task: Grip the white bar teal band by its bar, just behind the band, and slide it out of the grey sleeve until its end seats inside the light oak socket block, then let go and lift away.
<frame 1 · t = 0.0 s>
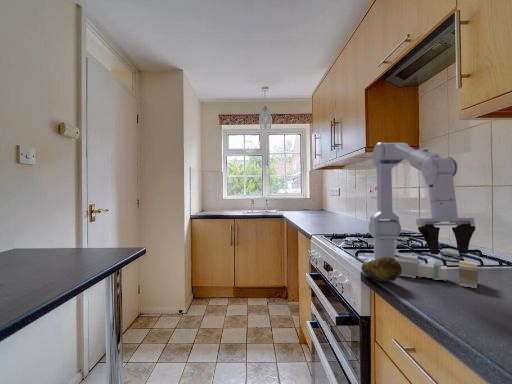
hand: (449, 254, 71), 11 cm above the counter, tool pointing down, fingers open, 7 cm apart
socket: (467, 284, 78), on the counter
sleeve: (408, 274, 87), on the counter
white bar teal band: (423, 268, 85), point 3 cm above the counter, slide at 0.0 cm
potato: (380, 282, 81), on the counter
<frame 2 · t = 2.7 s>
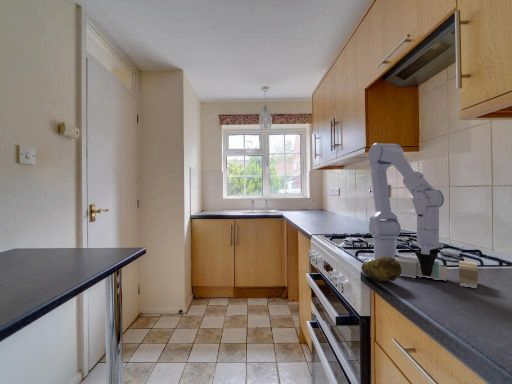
hand: (427, 273, 84), 1 cm above the counter, tool pointing down, fingers closed on white bar teal band, 5 cm apart
white bar teal band: (423, 268, 85), point 3 cm above the counter, slide at 0.0 cm, touching gripper
everything else where it was.
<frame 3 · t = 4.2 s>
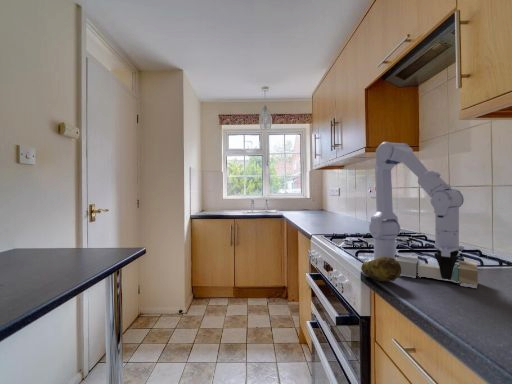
hand: (446, 276, 81), 1 cm above the counter, tool pointing down, fingers closed on white bar teal band, 5 cm apart
white bar teal band: (441, 271, 82), point 3 cm above the counter, slide at 4.8 cm, touching gripper
everything else where it was.
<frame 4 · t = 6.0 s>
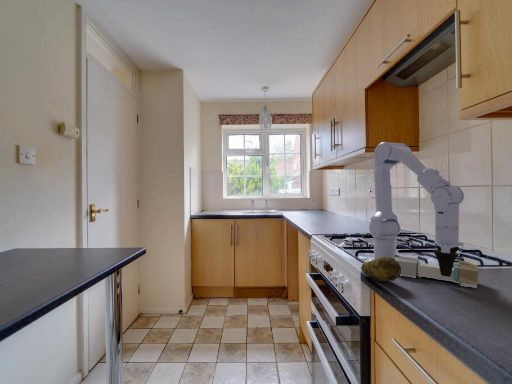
hand: (446, 272, 81), 2 cm above the counter, tool pointing down, fingers open, 7 cm apart
white bar teal band: (441, 271, 82), point 3 cm above the counter, slide at 4.8 cm
everything else where it was.
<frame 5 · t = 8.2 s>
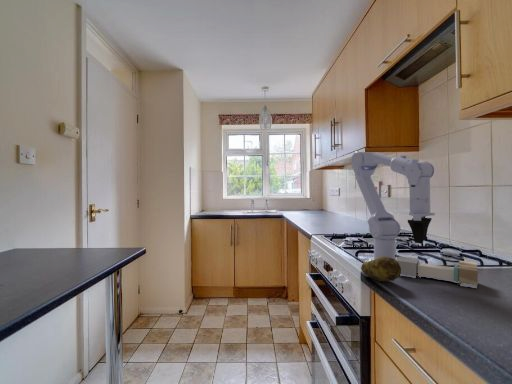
hand: (420, 241, 88), 10 cm above the counter, tool pointing down, fingers open, 7 cm apart
nothing on the counter moved.
at the end: white bar teal band slide at 4.8 cm; the gripper is holding nothing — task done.
